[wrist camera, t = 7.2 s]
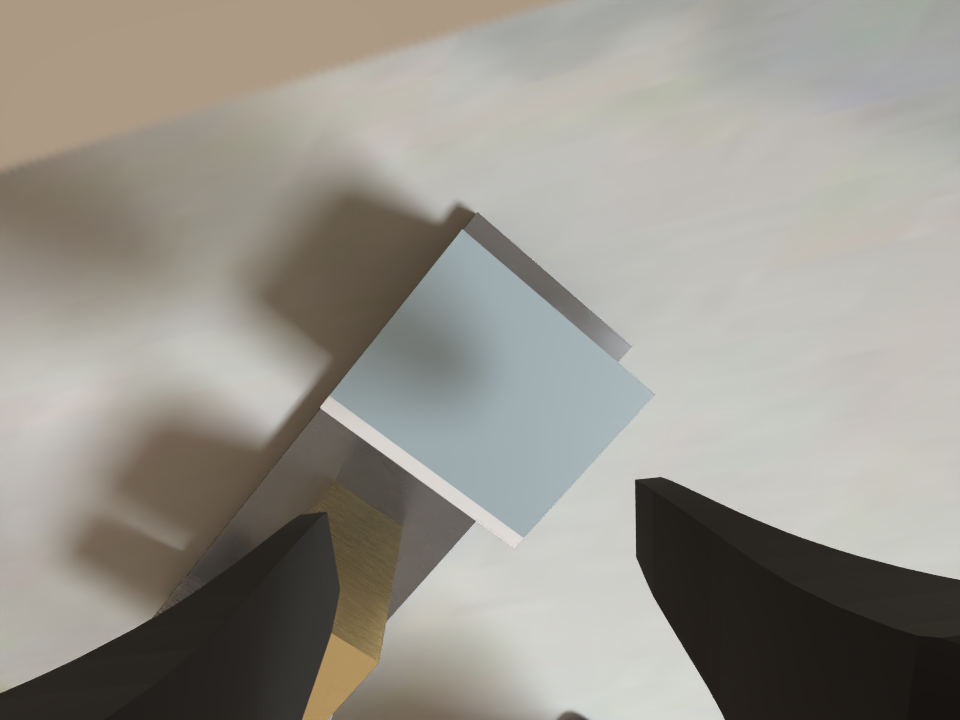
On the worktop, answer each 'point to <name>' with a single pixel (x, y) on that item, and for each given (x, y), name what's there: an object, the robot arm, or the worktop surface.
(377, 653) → the brass block
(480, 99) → the worktop surface
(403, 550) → the base
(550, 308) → the block
